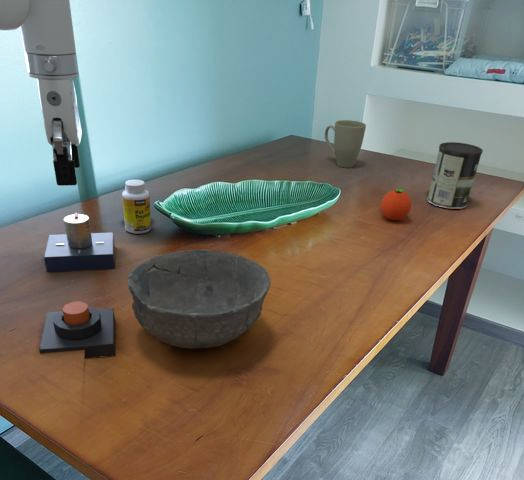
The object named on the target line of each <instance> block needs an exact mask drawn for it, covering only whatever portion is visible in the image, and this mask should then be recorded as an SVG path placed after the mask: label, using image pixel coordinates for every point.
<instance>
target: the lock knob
mask: <svg viewBox="0 0 524 480" xmlns="http://www.w3.org/2000/svg"><path fill="white" fill-rule="evenodd" d="M63 224H64V230H65V234H66V236H67V242H68V246H69V247H71V248H76V249H81V248H86V247H89V246H91V245H92V237H91V233H92V231H91V223H90V217H89V216H88V215H87V214H81V213H79V212H74V214H69V215H66V216H65V217H64V218H63Z"/></svg>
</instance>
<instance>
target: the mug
mask: <svg viewBox="0 0 524 480" xmlns="http://www.w3.org/2000/svg"><path fill="white" fill-rule="evenodd" d="M366 128H367V124H366V123H365V122H362V121H358V120H352V119H350V120H349V119H342V120H336V121H335V122H334V125H333V124H332V125H328V126H327V127H326V128H325V131H324V140H325V143H326V144H327V146H328V148H329V149H330V151H331V152H332V154H334V156H335V161H336V166H337V165H338V166H337V167H339V166H340V168H343V167H344V169H350V168H353V167H354V165H355V163H356V160H357V158H358V156H359V154H360V152H361V149H362V146H363V142H364V137H365V132H366ZM330 129H331V130H333V131H334V136H333V146H332V144H331V142H330V140H329V135H328V134H329V131H330Z"/></svg>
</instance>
